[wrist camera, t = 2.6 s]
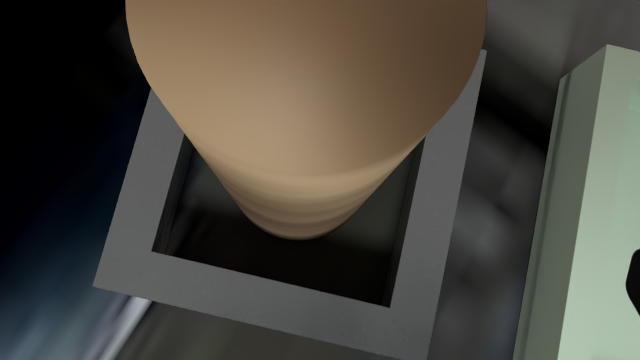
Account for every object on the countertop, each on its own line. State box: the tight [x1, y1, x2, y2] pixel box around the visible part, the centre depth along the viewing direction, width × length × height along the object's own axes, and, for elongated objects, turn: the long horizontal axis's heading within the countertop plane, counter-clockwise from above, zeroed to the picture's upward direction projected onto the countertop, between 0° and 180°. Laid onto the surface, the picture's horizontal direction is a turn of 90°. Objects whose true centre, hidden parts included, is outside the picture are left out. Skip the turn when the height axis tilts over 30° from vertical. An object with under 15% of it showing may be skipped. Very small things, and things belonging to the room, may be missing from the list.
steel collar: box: [93, 49, 487, 360], centre depth 21 cm, size 11×11×2 cm
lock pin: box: [126, 0, 487, 241], centre depth 15 cm, size 5×5×14 cm
